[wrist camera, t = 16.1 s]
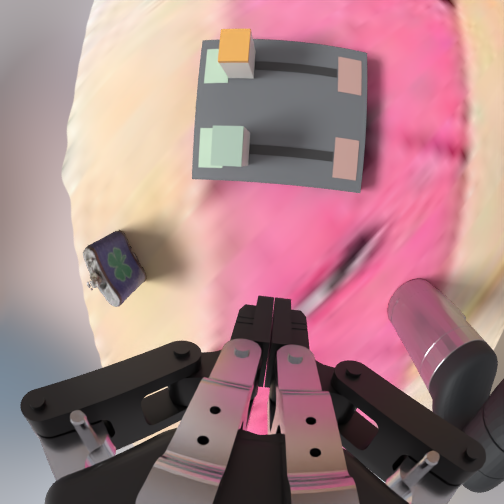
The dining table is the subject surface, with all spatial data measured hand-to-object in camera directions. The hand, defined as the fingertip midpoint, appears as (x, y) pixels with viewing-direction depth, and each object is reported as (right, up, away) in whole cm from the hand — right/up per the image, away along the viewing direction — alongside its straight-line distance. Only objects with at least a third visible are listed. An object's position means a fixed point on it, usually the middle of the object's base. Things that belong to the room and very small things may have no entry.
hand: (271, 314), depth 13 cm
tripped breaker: (-2, +26, +15) cm, 30 cm away
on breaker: (-3, +15, +19) cm, 24 cm away
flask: (-20, +2, +29) cm, 35 cm away
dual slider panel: (+3, +21, +20) cm, 29 cm away
